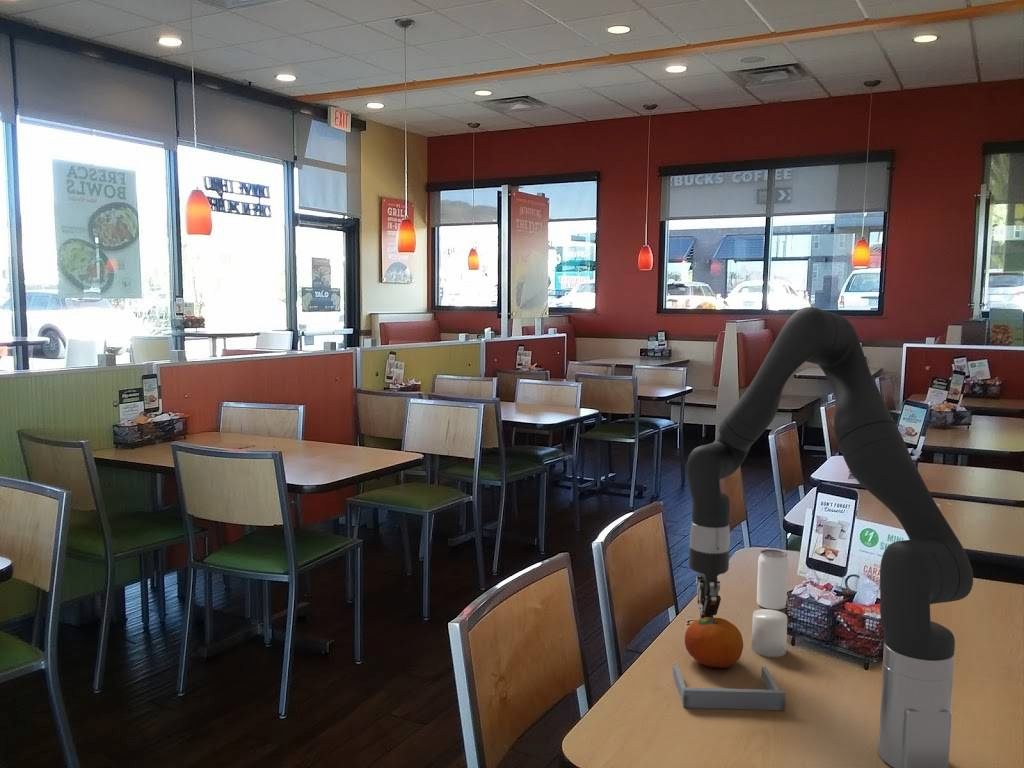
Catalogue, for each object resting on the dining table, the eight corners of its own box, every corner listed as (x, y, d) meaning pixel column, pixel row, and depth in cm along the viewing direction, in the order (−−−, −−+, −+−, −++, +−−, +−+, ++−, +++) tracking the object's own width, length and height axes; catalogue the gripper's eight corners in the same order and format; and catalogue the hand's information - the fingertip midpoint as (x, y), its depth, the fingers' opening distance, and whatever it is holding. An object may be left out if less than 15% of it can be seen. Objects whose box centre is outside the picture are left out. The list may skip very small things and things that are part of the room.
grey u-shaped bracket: (784, 710, 137) (785, 692, 136) (683, 707, 137) (684, 690, 137) (765, 677, 149) (766, 661, 148) (673, 675, 149) (673, 659, 149)
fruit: (749, 658, 156) (751, 618, 155) (732, 681, 147) (734, 638, 146) (695, 645, 161) (696, 606, 160) (676, 666, 153) (677, 625, 152)
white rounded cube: (790, 657, 157) (791, 622, 156) (756, 656, 157) (757, 621, 157) (780, 643, 163) (782, 609, 163) (748, 642, 164) (749, 608, 163)
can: (756, 608, 182) (758, 555, 180) (756, 598, 188) (758, 547, 187) (787, 612, 180) (789, 558, 179) (786, 601, 186) (788, 550, 185)
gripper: (736, 557, 152) (732, 646, 154) (722, 535, 166) (718, 618, 168) (695, 556, 153) (692, 645, 155) (684, 534, 166) (681, 617, 168)
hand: (706, 631), depth 161 cm, fingers closed
